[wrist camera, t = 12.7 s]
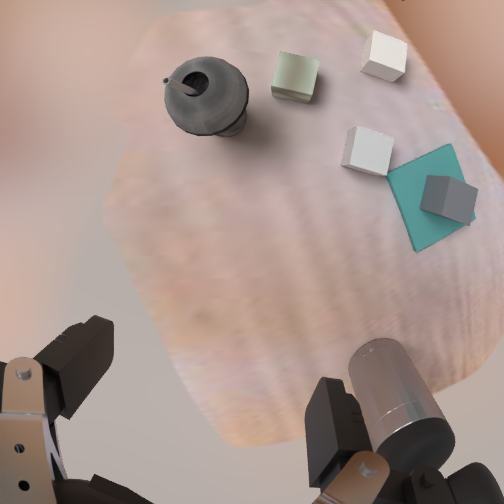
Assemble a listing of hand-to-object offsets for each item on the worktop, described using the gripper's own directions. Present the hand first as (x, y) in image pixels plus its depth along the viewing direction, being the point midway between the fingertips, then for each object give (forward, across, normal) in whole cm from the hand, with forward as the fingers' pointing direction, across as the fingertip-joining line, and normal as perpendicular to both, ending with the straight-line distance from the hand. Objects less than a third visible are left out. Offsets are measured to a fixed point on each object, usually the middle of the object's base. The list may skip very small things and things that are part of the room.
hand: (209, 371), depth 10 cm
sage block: (+28, 0, -19) cm, 34 cm away
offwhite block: (+28, -10, -26) cm, 40 cm away
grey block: (+28, -10, -12) cm, 33 cm away
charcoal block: (+27, -22, -10) cm, 36 cm away
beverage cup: (+28, +7, -12) cm, 32 cm away
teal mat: (+28, -22, -10) cm, 37 cm away
